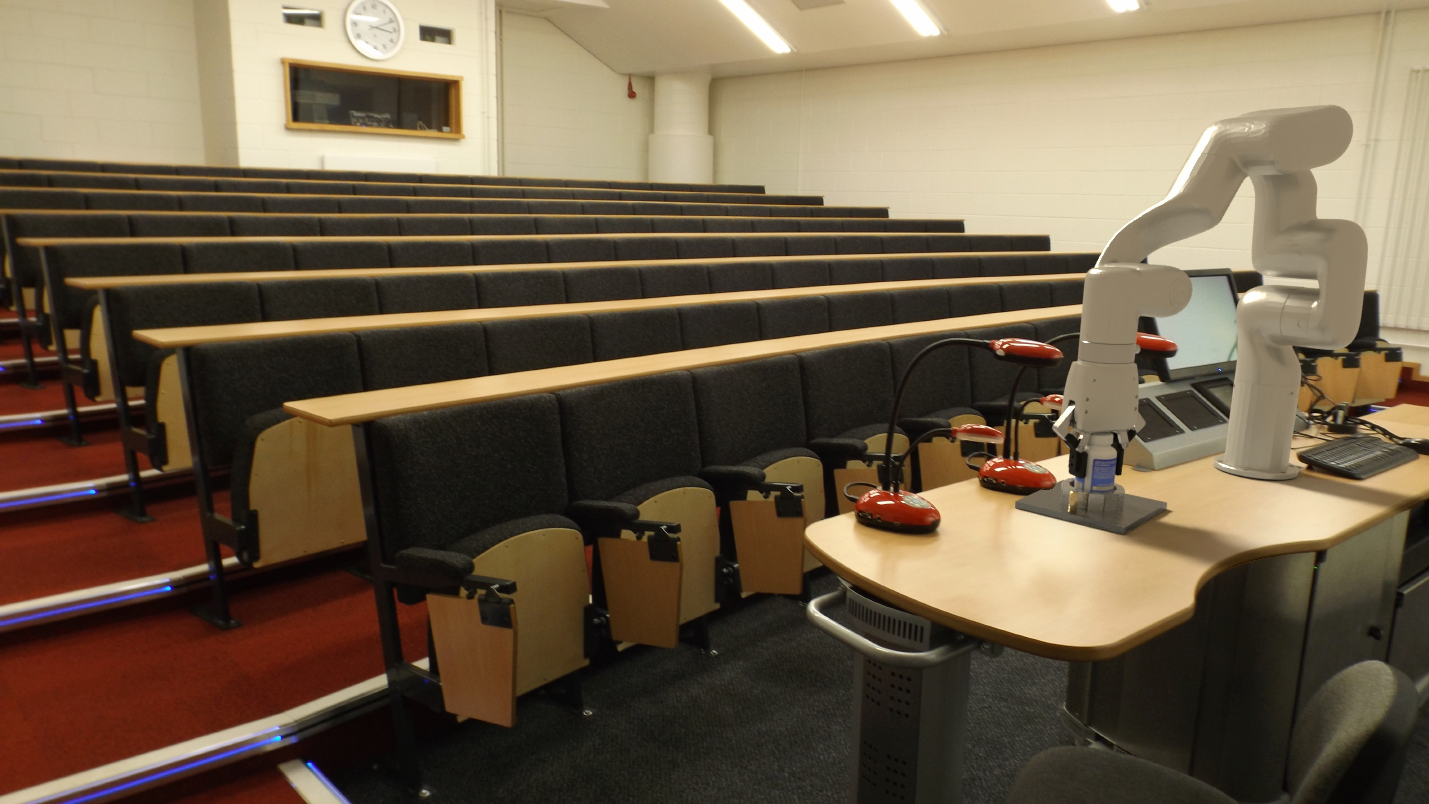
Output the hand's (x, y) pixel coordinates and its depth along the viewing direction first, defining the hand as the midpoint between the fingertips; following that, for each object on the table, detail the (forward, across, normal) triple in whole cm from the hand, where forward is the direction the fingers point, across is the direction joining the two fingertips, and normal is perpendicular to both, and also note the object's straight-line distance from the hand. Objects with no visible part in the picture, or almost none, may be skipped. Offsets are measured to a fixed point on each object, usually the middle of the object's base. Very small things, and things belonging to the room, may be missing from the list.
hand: (1094, 473), depth 135 cm
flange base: (+5, 0, 0) cm, 5 cm away
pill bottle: (+4, 0, 0) cm, 4 cm away
